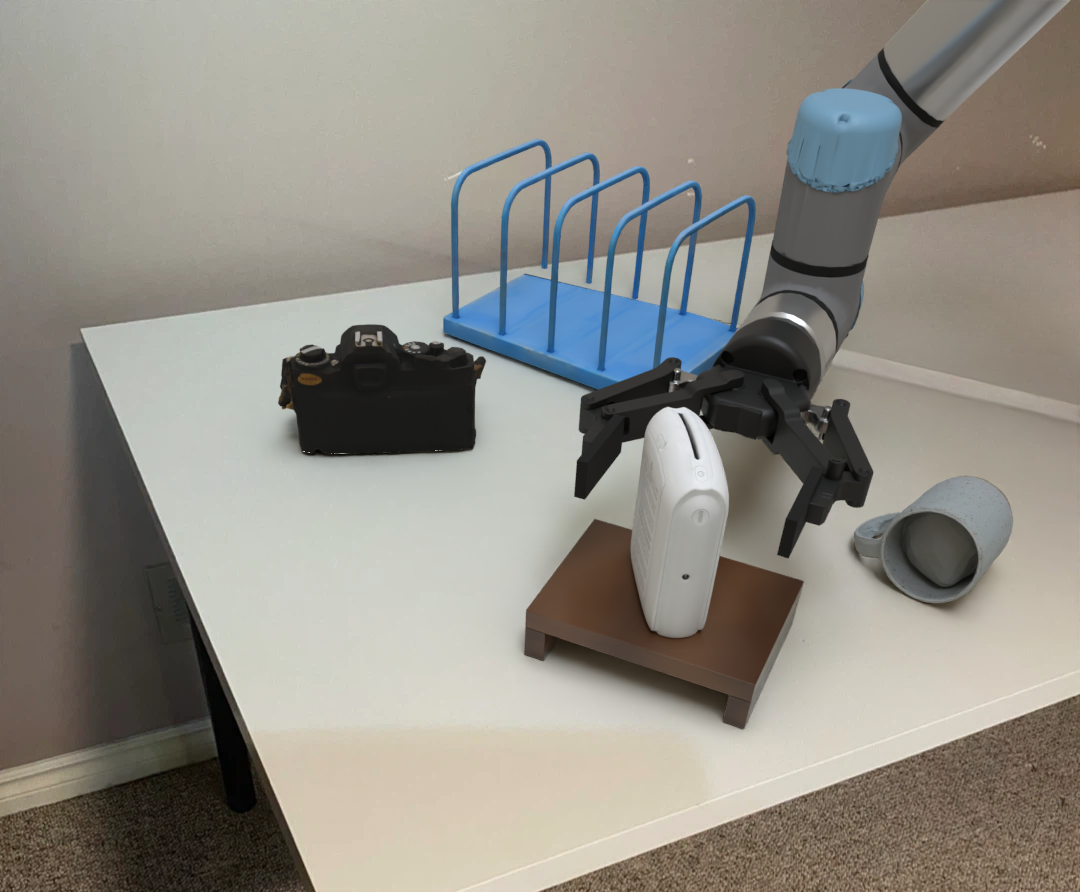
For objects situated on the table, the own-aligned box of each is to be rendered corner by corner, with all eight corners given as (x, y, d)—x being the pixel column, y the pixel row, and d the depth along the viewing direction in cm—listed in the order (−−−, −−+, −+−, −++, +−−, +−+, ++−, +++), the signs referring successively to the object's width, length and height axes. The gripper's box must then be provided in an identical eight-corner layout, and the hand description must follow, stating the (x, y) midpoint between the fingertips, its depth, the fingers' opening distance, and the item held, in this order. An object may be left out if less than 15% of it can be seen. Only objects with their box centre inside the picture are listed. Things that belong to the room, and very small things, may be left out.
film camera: (447, 379, 101) (445, 274, 94) (500, 444, 94) (502, 335, 87) (261, 414, 95) (244, 305, 88) (302, 486, 88) (286, 373, 81)
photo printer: (711, 640, 70) (744, 477, 62) (646, 642, 70) (671, 478, 61) (682, 546, 78) (708, 388, 69) (623, 547, 77) (642, 389, 68)
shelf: (792, 624, 78) (804, 580, 75) (743, 729, 70) (755, 685, 67) (590, 561, 82) (594, 518, 80) (523, 654, 75) (525, 609, 72)
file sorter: (743, 348, 108) (772, 188, 97) (655, 416, 98) (678, 246, 87) (540, 279, 118) (547, 126, 107) (441, 335, 108) (437, 173, 97)
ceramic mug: (1001, 568, 84) (1035, 483, 78) (961, 620, 79) (996, 533, 74) (875, 519, 88) (900, 435, 83) (831, 565, 83) (854, 480, 78)
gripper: (924, 451, 80) (863, 614, 66) (614, 373, 87) (500, 506, 73) (956, 356, 75) (897, 512, 61) (623, 280, 81) (501, 405, 67)
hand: (680, 509), depth 67 cm, fingers open, 13 cm apart
